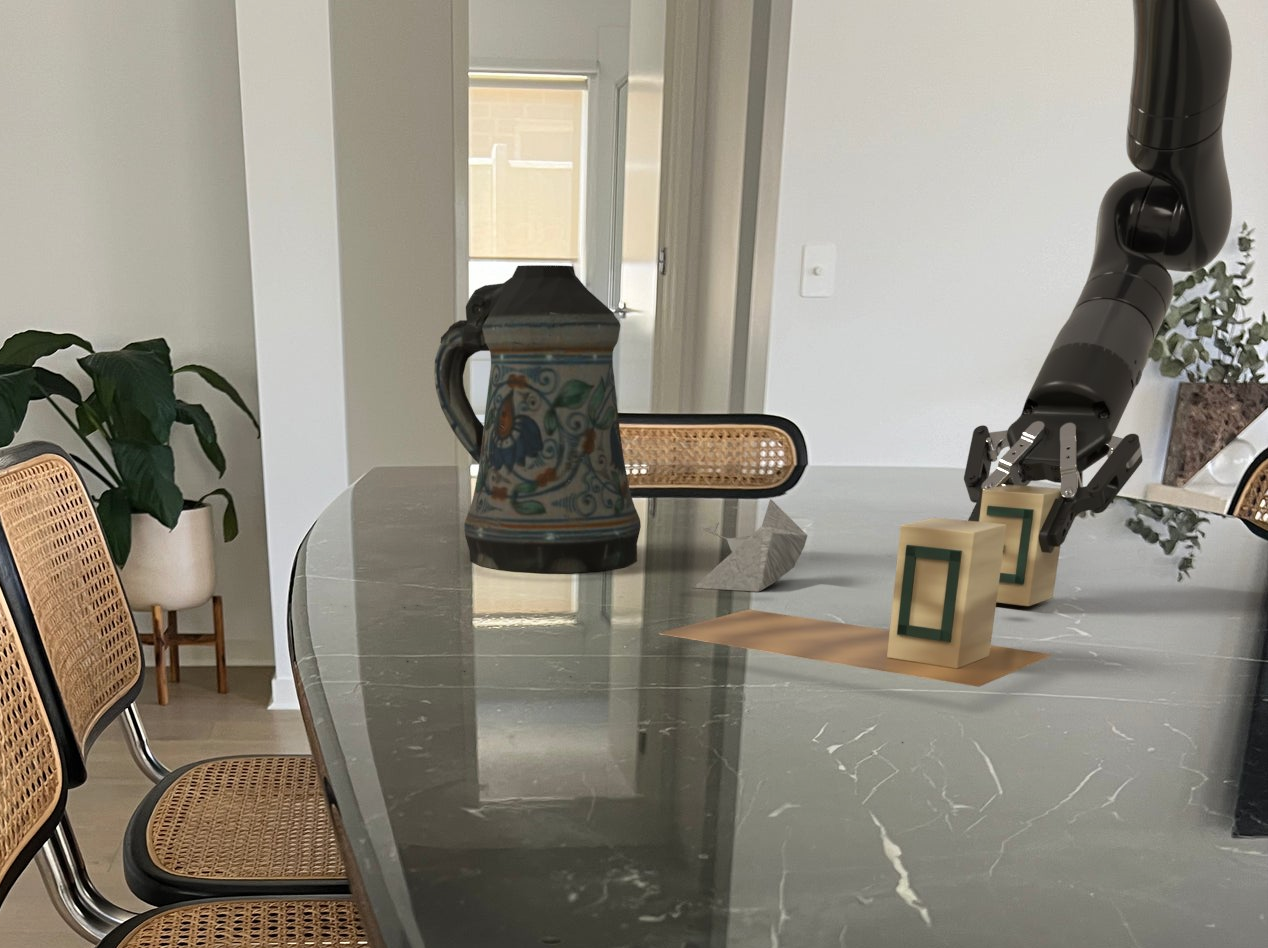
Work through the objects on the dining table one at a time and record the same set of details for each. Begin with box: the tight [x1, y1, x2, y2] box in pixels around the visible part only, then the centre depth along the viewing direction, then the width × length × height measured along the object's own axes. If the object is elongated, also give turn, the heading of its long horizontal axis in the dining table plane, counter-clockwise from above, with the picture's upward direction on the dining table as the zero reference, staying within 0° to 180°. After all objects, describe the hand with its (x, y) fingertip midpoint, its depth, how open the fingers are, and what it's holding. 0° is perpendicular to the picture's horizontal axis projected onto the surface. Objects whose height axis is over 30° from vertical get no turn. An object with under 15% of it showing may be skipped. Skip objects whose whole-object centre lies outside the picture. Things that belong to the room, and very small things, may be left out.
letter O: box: [887, 517, 1007, 669], centre depth 95 cm, size 5×5×8 cm
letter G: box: [979, 485, 1061, 607], centre depth 117 cm, size 5×5×8 cm
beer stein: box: [433, 264, 641, 574], centre depth 133 cm, size 16×19×25 cm
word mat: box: [658, 609, 1053, 688], centre depth 101 cm, size 24×12×1 cm, turn 51°
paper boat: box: [692, 498, 808, 593], centre depth 126 cm, size 12×6×9 cm
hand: (1010, 541), depth 116 cm, fingers closed on letter G, 5 cm apart
